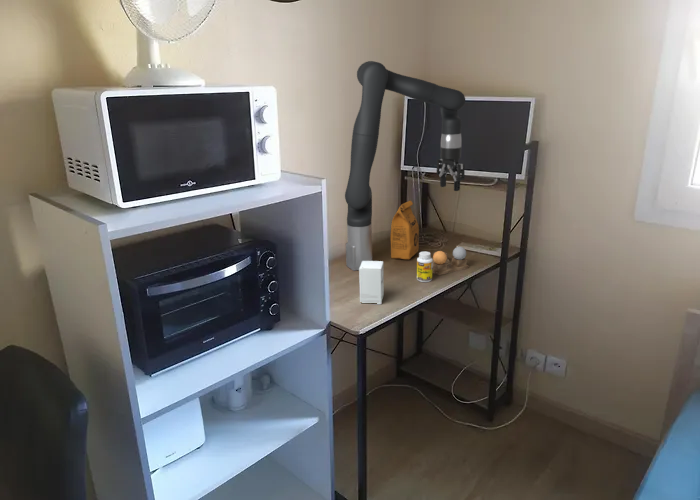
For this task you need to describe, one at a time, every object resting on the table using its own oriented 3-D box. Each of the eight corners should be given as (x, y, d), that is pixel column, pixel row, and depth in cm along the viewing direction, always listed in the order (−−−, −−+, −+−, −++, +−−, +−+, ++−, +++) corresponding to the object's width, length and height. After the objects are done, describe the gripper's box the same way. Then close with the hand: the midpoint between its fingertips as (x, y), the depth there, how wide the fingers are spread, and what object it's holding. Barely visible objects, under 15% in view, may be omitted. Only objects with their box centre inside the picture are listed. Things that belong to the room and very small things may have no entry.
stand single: (438, 264, 209) (439, 256, 208) (431, 260, 213) (431, 252, 212) (449, 262, 211) (449, 254, 210) (441, 258, 215) (442, 250, 214)
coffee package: (422, 252, 222) (423, 200, 215) (409, 262, 213) (409, 208, 205) (400, 249, 227) (400, 198, 220) (387, 258, 217) (386, 205, 210)
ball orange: (449, 264, 200) (449, 251, 199) (438, 267, 198) (438, 254, 197) (441, 260, 204) (441, 248, 203) (430, 263, 202) (430, 250, 201)
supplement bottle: (415, 282, 194) (415, 255, 191) (418, 276, 199) (418, 250, 196) (430, 283, 192) (431, 256, 189) (433, 277, 197) (433, 251, 194)
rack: (437, 275, 199) (438, 266, 198) (430, 271, 203) (430, 262, 202) (468, 268, 205) (468, 259, 204) (460, 264, 209) (460, 255, 208)
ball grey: (458, 262, 202) (458, 250, 200) (449, 258, 206) (450, 246, 204) (468, 260, 204) (469, 247, 202) (460, 256, 208) (461, 244, 207)
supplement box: (381, 304, 177) (381, 268, 173) (359, 303, 178) (358, 268, 174) (384, 295, 184) (383, 260, 180) (362, 294, 185) (361, 260, 181)
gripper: (471, 147, 197) (469, 190, 202) (447, 142, 209) (446, 184, 214) (454, 149, 194) (453, 193, 199) (431, 144, 206) (430, 186, 211)
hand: (449, 188), depth 207 cm, fingers open, 8 cm apart
